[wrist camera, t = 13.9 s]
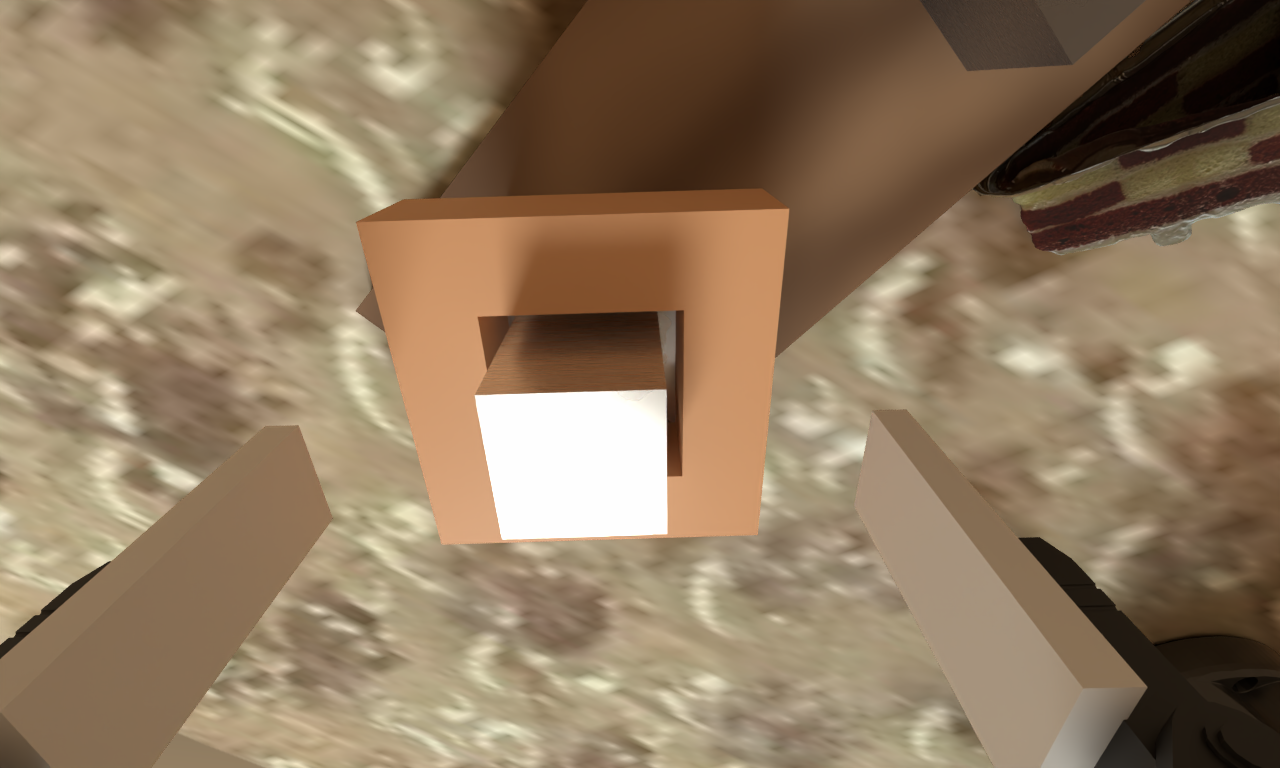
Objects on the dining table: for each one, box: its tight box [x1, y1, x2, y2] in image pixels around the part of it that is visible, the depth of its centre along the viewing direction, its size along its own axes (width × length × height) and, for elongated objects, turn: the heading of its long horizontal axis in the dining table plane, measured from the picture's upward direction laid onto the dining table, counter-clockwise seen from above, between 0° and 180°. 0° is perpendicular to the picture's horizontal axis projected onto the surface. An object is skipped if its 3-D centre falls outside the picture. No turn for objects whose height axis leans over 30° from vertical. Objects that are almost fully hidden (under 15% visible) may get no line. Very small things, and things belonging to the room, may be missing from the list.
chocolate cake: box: [973, 0, 1280, 255], centre depth 20 cm, size 10×7×12 cm
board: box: [356, 0, 1192, 358], centre depth 20 cm, size 14×32×2 cm, turn 137°
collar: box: [356, 188, 789, 544], centre depth 16 cm, size 10×10×3 cm
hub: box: [475, 311, 676, 539], centre depth 17 cm, size 7×7×11 cm
